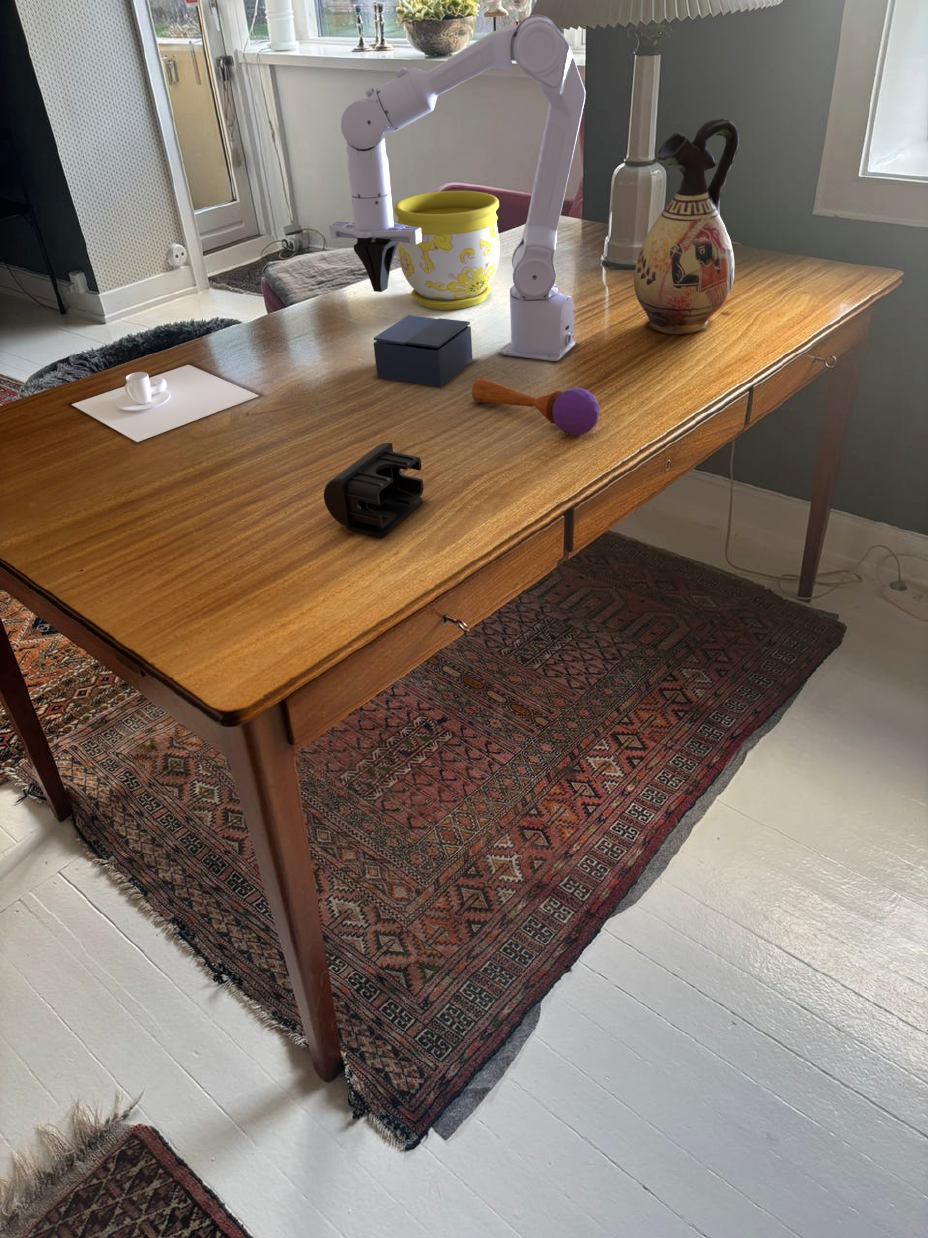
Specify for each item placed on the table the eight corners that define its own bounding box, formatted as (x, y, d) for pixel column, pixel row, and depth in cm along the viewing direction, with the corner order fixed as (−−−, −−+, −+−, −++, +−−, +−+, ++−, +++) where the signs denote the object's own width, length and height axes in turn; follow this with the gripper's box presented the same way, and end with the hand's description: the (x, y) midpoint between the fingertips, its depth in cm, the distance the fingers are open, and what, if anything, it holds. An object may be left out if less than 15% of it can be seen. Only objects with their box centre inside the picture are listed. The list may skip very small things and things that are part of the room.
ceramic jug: (657, 347, 145) (673, 133, 128) (616, 317, 157) (625, 117, 140) (755, 331, 149) (784, 120, 131) (708, 303, 161) (728, 106, 143)
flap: (373, 340, 138) (373, 337, 138) (408, 316, 145) (408, 314, 145) (404, 344, 136) (404, 342, 136) (438, 321, 144) (438, 318, 143)
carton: (377, 377, 141) (372, 337, 138) (411, 352, 149) (408, 314, 145) (440, 386, 137) (437, 345, 134) (472, 360, 145) (470, 321, 141)
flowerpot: (382, 300, 171) (372, 204, 162) (457, 277, 180) (452, 185, 171) (445, 322, 160) (438, 220, 150) (522, 296, 169) (520, 199, 159)
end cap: (376, 489, 113) (370, 437, 109) (426, 500, 110) (422, 448, 106) (327, 528, 106) (318, 474, 102) (379, 541, 103) (373, 487, 99)
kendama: (495, 366, 132) (610, 388, 119) (493, 408, 134) (606, 435, 122) (465, 371, 128) (581, 395, 116) (464, 414, 131) (578, 442, 118)
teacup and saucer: (158, 385, 143) (152, 359, 141) (186, 398, 138) (179, 372, 136) (105, 404, 138) (98, 377, 136) (132, 418, 134) (124, 391, 131)
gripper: (313, 197, 134) (326, 293, 142) (402, 202, 129) (410, 302, 137) (339, 186, 139) (350, 279, 147) (425, 191, 134) (432, 287, 142)
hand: (380, 289), depth 142 cm, fingers closed
